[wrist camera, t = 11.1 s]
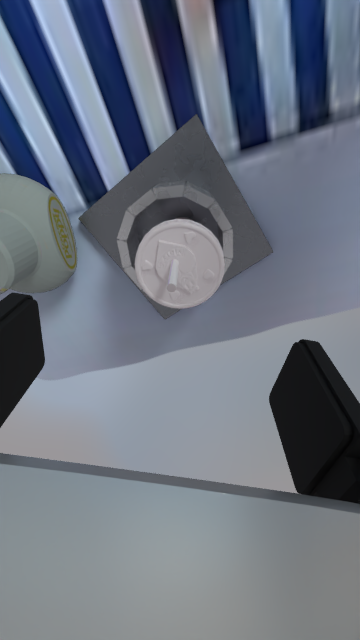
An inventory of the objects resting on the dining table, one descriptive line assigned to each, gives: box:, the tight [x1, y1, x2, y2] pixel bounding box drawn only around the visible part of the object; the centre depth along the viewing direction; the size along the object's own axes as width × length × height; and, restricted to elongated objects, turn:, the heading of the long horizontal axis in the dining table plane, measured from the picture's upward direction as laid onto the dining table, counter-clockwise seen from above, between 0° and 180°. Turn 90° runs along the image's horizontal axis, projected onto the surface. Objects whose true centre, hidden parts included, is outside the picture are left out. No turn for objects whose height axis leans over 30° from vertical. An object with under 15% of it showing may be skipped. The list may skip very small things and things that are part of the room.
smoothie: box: [135, 217, 225, 309], centre depth 21 cm, size 6×6×14 cm
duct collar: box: [78, 114, 273, 319], centre depth 26 cm, size 14×14×6 cm
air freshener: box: [0, 173, 77, 294], centre depth 24 cm, size 11×8×10 cm
